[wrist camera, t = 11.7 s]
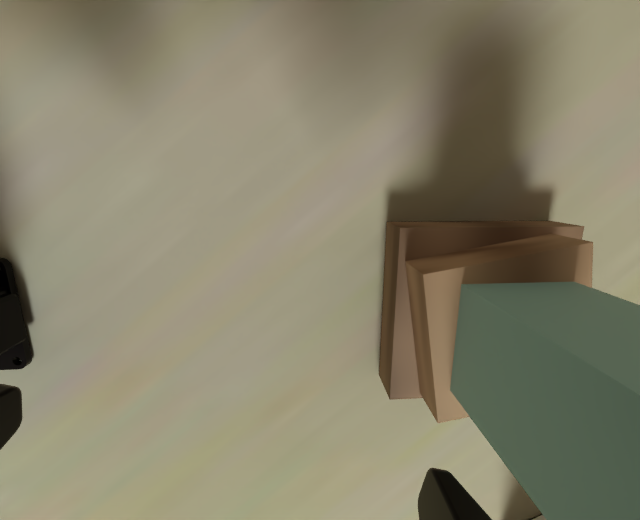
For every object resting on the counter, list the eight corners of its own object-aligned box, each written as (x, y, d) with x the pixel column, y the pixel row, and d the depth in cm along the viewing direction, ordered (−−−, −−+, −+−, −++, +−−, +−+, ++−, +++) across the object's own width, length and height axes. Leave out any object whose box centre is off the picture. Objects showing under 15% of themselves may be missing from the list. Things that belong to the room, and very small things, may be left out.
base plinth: (378, 374, 22) (389, 399, 19) (386, 221, 19) (400, 227, 17) (524, 368, 22) (552, 391, 20) (549, 220, 20) (584, 226, 18)
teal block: (450, 389, 16) (826, 896, 5) (461, 284, 15) (1012, 627, 4) (554, 385, 17) (1132, 840, 5) (574, 281, 16) (1401, 581, 4)
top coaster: (419, 392, 19) (437, 423, 17) (405, 261, 17) (423, 274, 15) (551, 365, 20) (588, 392, 17) (551, 233, 18) (593, 242, 15)
